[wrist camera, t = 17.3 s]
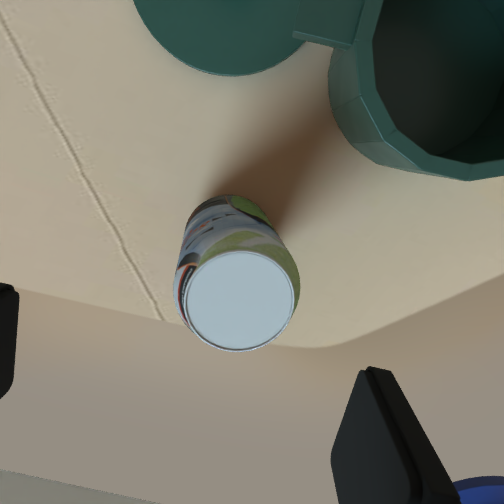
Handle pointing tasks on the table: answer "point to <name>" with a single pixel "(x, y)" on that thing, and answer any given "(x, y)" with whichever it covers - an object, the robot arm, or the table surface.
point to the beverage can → (234, 276)
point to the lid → (224, 32)
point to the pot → (416, 81)
